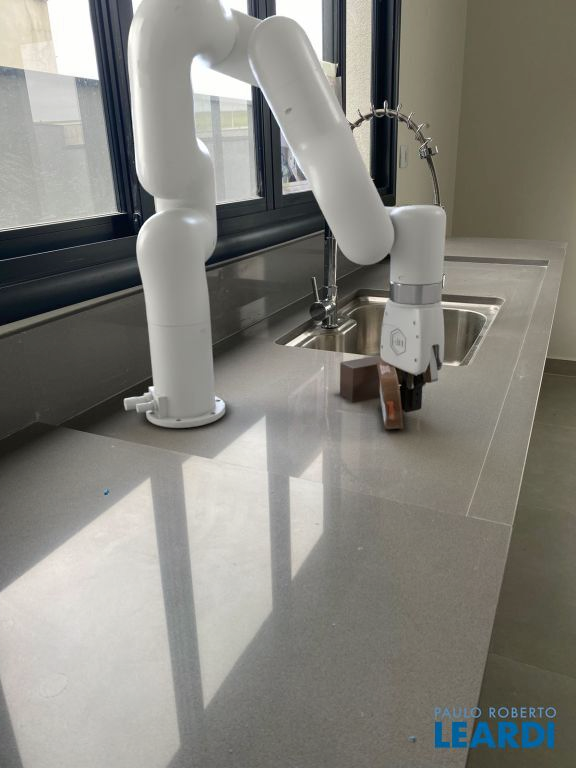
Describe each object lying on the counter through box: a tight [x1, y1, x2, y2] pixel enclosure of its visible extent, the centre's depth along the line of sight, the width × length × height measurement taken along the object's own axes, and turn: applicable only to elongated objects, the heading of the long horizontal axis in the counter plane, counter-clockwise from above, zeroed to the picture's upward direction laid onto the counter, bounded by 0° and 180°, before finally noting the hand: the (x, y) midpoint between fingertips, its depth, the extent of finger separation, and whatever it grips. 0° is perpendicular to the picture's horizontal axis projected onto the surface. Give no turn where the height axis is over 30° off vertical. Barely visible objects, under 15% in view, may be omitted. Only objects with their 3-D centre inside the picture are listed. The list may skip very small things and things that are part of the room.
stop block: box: [339, 354, 383, 403], centre depth 104 cm, size 8×4×6 cm, turn 118°
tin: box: [377, 361, 404, 430], centre depth 93 cm, size 15×3×8 cm, turn 175°
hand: (409, 409), depth 95 cm, fingers closed
